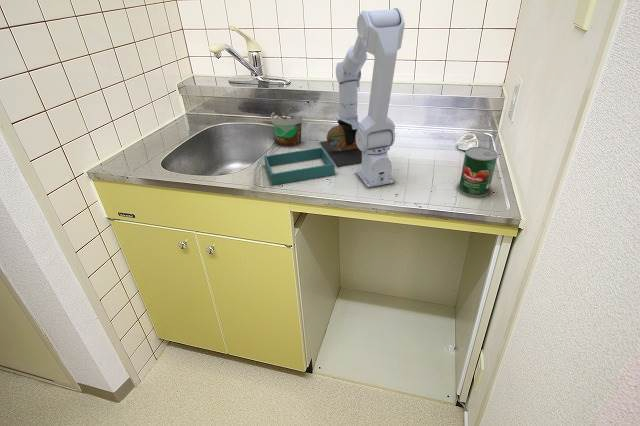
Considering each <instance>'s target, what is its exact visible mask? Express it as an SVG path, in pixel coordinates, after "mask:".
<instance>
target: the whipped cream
mask: <svg viewBox="0 0 640 426" xmlns="http://www.w3.org/2000/svg"><path fill="white" fill-rule="evenodd" d="M457 143H458V145H457V148H458V150H461V151H466V150H467V149H468V148H471V147H480V146H479V140H478V138H477V136H476V135H475V134H473V133H468V134H465V135H462V136H461V137H460V139H459V140H458V142H457Z"/></svg>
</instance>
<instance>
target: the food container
mask: <svg viewBox="0 0 640 426" xmlns="http://www.w3.org/2000/svg"><path fill="white" fill-rule="evenodd" d="M303 122H304V119H303V117H302V115H300V116H298V117H295V116H291V115H287V114H283V115H282V114H281V115H280V114H276V113H275V111H274V112H273V111H272V113H271V114H270V123H271V124H272V125H273V131H274V135H275V139H276V143H277V144H278V145H279V146H282V147H283V146H284V147H293V146H296V145H299V144H301V143H302V123H303Z"/></svg>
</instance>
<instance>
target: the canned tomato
mask: <svg viewBox="0 0 640 426" xmlns="http://www.w3.org/2000/svg"><path fill="white" fill-rule="evenodd" d="M498 156H499V154H498V152H497V151H496V150H494V149H492V148H489V147H485V146H479V147H471V148H468V149H467V150H465V153H464V159H463V163H462V168H461V174H460V179H459V183H458V184H459V185H458V190H459V192H461V193H462V194H463V195H466V196H469V197H473V198H477V197H478V198H480V197H485V196H487V195H489V193H490V188H491V185H492V181H493V177H494V172H495V169H496V164H497V159H498Z"/></svg>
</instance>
